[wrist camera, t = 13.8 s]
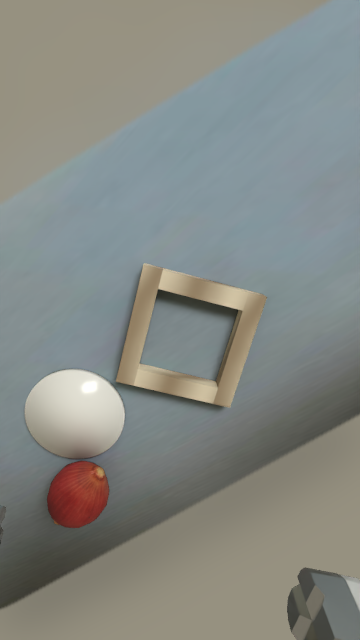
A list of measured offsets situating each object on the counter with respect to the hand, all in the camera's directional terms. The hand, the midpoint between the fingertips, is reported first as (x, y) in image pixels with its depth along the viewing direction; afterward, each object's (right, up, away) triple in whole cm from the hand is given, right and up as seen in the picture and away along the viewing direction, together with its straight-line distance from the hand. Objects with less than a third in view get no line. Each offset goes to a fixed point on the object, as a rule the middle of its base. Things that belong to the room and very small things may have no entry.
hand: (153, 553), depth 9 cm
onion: (-7, -8, +24) cm, 26 cm away
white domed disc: (-10, -3, +25) cm, 27 cm away
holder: (+2, +5, +23) cm, 24 cm away
